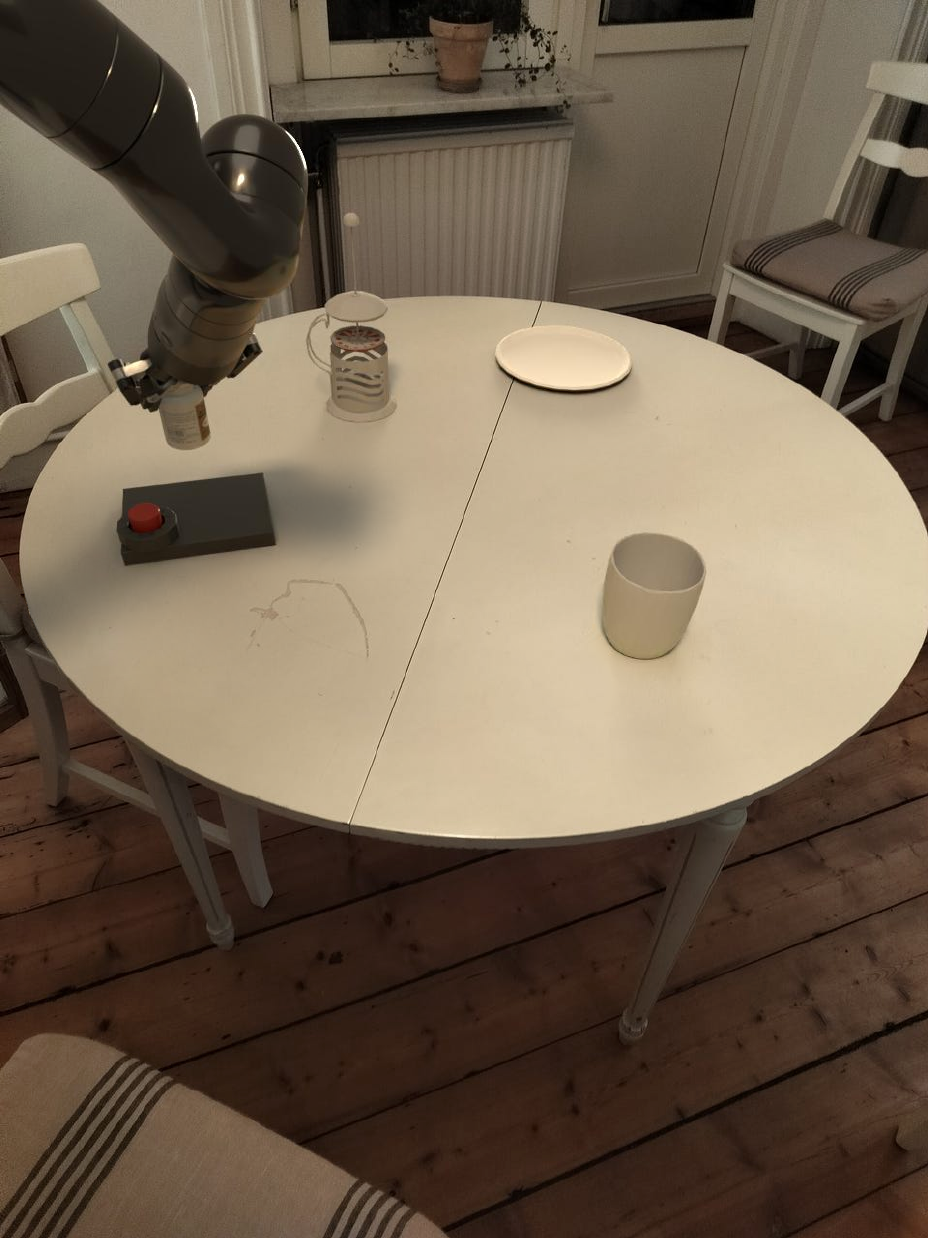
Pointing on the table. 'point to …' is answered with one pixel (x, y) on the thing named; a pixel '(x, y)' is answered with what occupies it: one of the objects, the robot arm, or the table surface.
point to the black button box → (198, 518)
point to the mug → (650, 593)
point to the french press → (357, 391)
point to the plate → (563, 358)
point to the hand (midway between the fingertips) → (173, 395)
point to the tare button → (145, 518)
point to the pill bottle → (185, 418)
